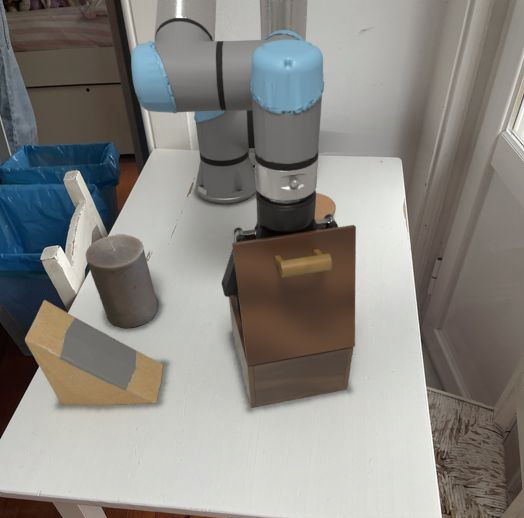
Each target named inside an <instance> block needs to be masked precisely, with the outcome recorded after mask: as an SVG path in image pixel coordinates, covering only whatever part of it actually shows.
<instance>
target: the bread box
mask: <svg viewBox="0 0 524 518" xmlns="http://www.w3.org/2000/svg"><path fill="white" fill-rule="evenodd" d="M228 303H229V312H230V323H231V333H232V337H233V342H234V345H235V350H236V353H237V358H238V361H239V366H240V370H241V373H242V374H241V375H242V378H243V381H244V386H245V390H246V393H247V399H248V402H249V407H250V408H251V409H253V408H259V407H263V406H268V405H269V406H270V405H274V404H279V403H285V402H289V401H294V400H298V399H299V400H300V399H304V398H309V397H310V398H311V397H315V396H319V395H320V396H321V395H324V394H331V393H336V392H341V391H346V390H348V384H349V379H350V371H351V368H352V367H351V366H352V360H353V353H354V347H355V346H354V347H349V348H343V349H338V350H332V351H327V352H321V353H316V354H310V355H305V356H299V357H294V358H289V359H283V360H278V361H272V362H267V363H261V364H256V365H250V366H248V364H247V359H246V351H245V343H244V335H243V327H242V319H241V312H240V313H239V311H238V309H237V306H236V298H235V296H234V295H231V296H230V297H228Z"/></svg>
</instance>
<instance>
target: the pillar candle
mask: <svg viewBox="0 0 524 518" xmlns="http://www.w3.org/2000/svg"><path fill="white" fill-rule="evenodd" d="M85 259H86V262H87V265H88V268H89V271H90V274H91V277H92V280H93V282H94V286H95V288H96V291H97V293H98V295H99V299H100V302H101V305H102V308H103V310H104V312H105V315H106V320H107V321H108V322H109V323H110V325H112V326H114V327H117V328H120V329H121V328H123V329H131V328H132V329H133V328H137V327H140V326H144V325H145V324H147V323H149V322H150V321H151V320H152V319H153V318H154V317H155V316H156V315H157V313H158V309H159V305H158V300H157V296H156V292H155V288H154V284H153V280H152V276H151V272H150V268H149V264H148V260H147V257H146V253H145V247H144V244H143V242H142V240H141V239H139V238H137V237H135V236H133V235H128V234H123V233H117V234H112V235H107V236H104V237H102V238H99V239H97V240H95V241H94V242H92V243H91V244H90V245H89V246H88V248H87V249H86V251H85Z"/></svg>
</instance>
